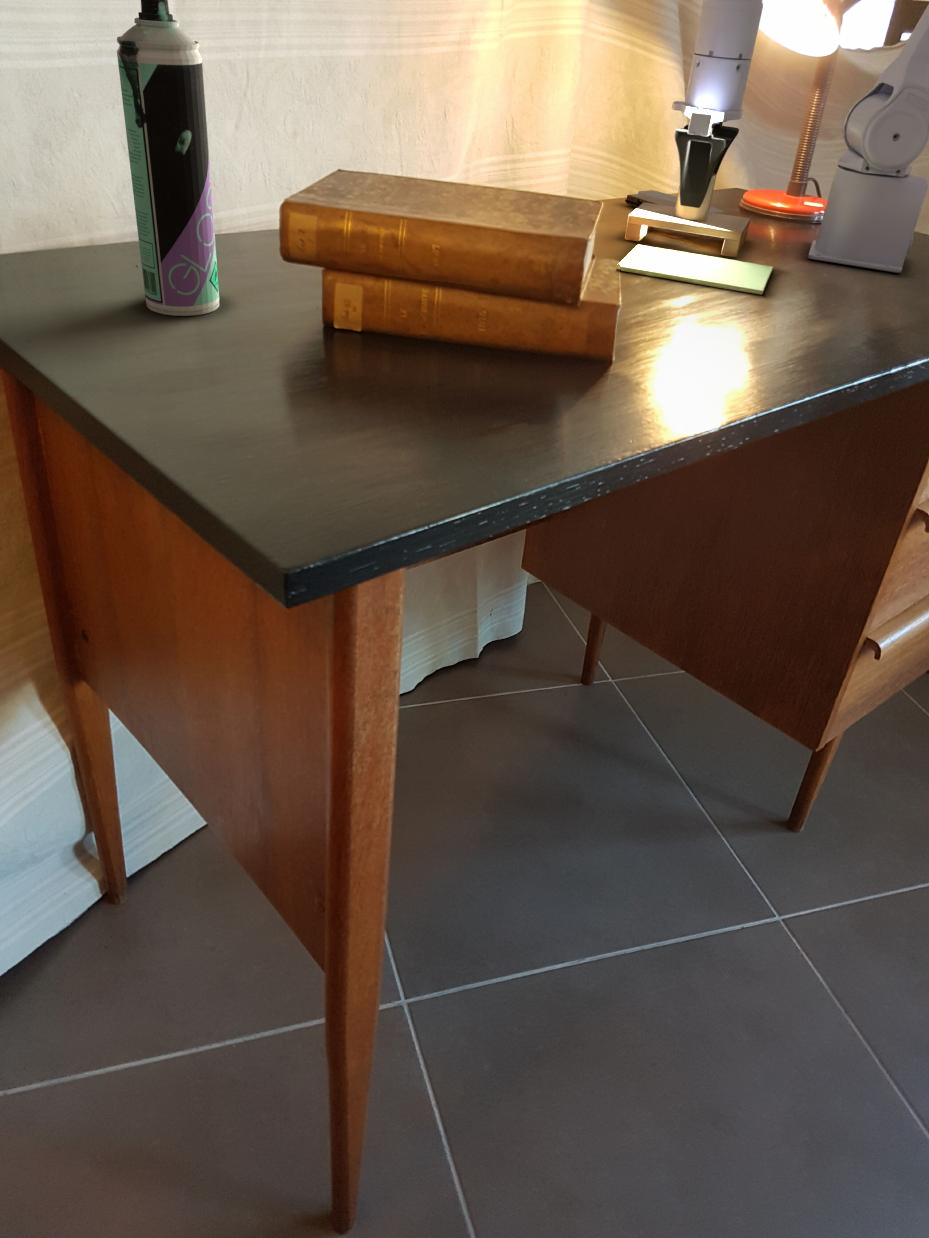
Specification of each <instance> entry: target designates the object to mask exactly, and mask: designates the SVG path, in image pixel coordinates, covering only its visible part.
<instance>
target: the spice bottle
mask: <svg viewBox="0 0 929 1238" xmlns="http://www.w3.org/2000/svg"><path fill="white" fill-rule="evenodd" d="M716 179H717V175H716V174H715V173H713V175H712V178H711V181H710V184H709V187H708V190H707V193H706V195H705V198H704V200H703V202H702V204H701V206H700V208H695V207H688V206H682V205H680V184H679V185H678V191H677V196H676V197H677V201H676V206H675V211H674V215H675V216H676V217H678V218H682V219H686V220H695V221H702V220H707V218H708V213H709V209H710V207H711V204H712V198H713V193H714V190H715V184H716Z"/></svg>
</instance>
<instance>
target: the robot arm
mask: <svg viewBox="0 0 929 1238" xmlns="http://www.w3.org/2000/svg"><path fill="white" fill-rule="evenodd" d="M763 8H764V3H763V0H703V1H702V6H701V11H700V16H699V17H700V18H699V22H698V27H697V33H696V38H695V44H694V49H693V55H692V61H691V67H690V71H689V77H688V82H687V86H686V87H687V88H686V93H685V98H684V101H681V100H675V101H672V106H671V110H673V111H677V112H678V111H680V112H681V113H682V114H684V115H685V116H686V117H688V118H689V123H688V124H686V125H684V126H683V128H682V127H676V129H674V133H673V135H674V141H675V145H676V149H677V153H678V161H679V185H680V205H682V206H688V207H695V208H700V206H701V204H702V202H703V200H704V198H705V195H706V193H707V190H708V187H709V184H710V181H711V178H712V175H713V173H715V174H716V176H718V173H719V170H720V167H721V164H722V162H723V160H724V158H725V156H726V154H727V152H728V150H729V149H730V147H731V145H732V143H733V142H734V141H735V139H736V138H737V136H738V135H739V133H740V128H739V127H734V126H727V125H723V123H727V122H728V121H737V120H741V119H742V115H743V111H744V110H743V109H742V108H743V107H742V106H743V102H744V97H745V94H746V93H745V92H746V88H747V85H748V83H747V82H748V79H749V74H750V71H751V65H752V60H753V55H754V51H755V46H756V41H757V36H758V31H759V27H760V23H761V18H762V13H763ZM905 42H906V43H905V44H904V45H903V47H902V49H901V51H900V52H899V54H898V55H897V56H896V58H895V59H894V60H893V61H891V63H890V64H889V65H888V66H887V67H886V68H885V69H884V70H882V71H883V72H882V73H880V75H879V77H878V79H877V80H876V82H875V83H874V85H873V87H872V88H871V89H870V90H869V91H868V92H867V93H866V94H864V95H863V96H862V97H860V98H859V99H858V100H857V101H856V102H855V103H854V104H853V105H852V106H851V108H850V109H849V111H848V113H847V115H846V117H845V119H844V123H843V128H842V129H843V130H842V131H843V132H842V133H843V140H844V143H845V145H846V147H847V149H846V150H845V152H844V154H842V156H840V157H839V158H838V162H837V165H836V168H835V172H834V175H833V179H832V183H831V186H830V190H829V194H828V196H827V201H826V205H825V208H824V211H823V215H822V218H821V223H820V226H819V230H818V234H817V237H816V239H813V240H812V241H811V245H810V249H809V252H808V255H807V258H808V259H810V260H815V261H821V262H826V263H827V262H829V263H832V264H833V263H835V264H841V265H846V266H852V267H857V268H859V267H860V268H864V269H871V270H878V271H884V272H890V273H895V274H896V273H897V274H901V273H902V271H903V266H904V263H905V260H906V257H907V255H908V254H909V253H910V251H911V248H912V245H913V241H914V238H915V237H914V233H915V231H916V227H917V224H918V221H919V218H920V216H921V215H920V214H921V211H922V208H923V205H924V202H925V198H926V195H927V191H928V187H929V178H928V177H925V176H920V175H913V174H911V173H912V169H913V166H912V165H911V164H912V163H914V162H915V161H916V160H917V159H918V158H919V157H920V156H921V154H922V153H923V151H924V150H925V148H926V146H927V144H928V142H929V141H928V140H929V4H928V5H927V6H926V8H925V10H924V11H923V13H922V14H921V17H920V18H919V20H918V22H917V24H916V25H915V27H914V29H913V30H912V31H911V34H910V35H909V37H908V39H907V41H905Z"/></svg>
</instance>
